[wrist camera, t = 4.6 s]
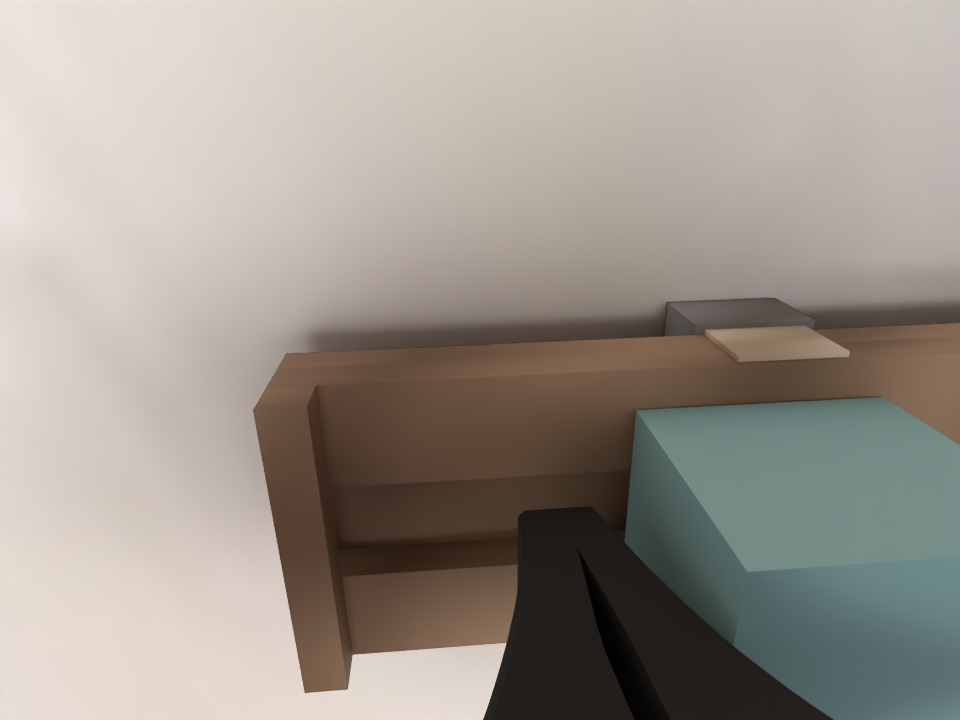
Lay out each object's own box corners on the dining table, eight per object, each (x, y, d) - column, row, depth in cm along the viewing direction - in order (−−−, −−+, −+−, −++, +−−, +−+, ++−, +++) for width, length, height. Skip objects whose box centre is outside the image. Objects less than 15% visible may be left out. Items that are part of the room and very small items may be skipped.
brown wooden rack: (1107, 284, 14) (1339, 343, 10) (1017, 517, 16) (1179, 629, 13) (300, 318, 13) (250, 397, 9) (335, 562, 15) (306, 700, 12)
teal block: (855, 379, 12) (1118, 545, 7) (811, 567, 13) (1000, 793, 9) (623, 391, 11) (747, 571, 7) (608, 581, 13) (700, 823, 9)
